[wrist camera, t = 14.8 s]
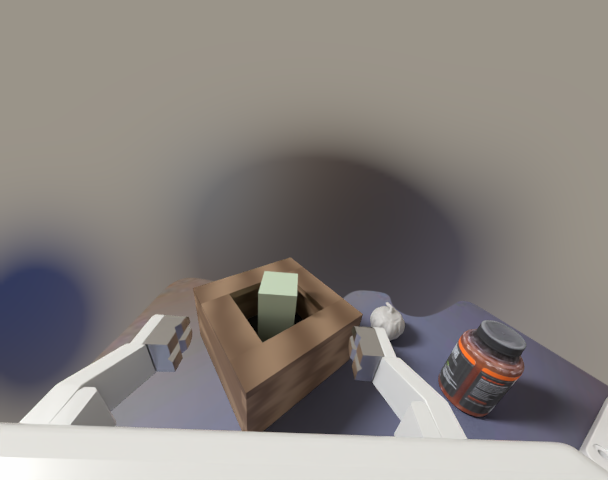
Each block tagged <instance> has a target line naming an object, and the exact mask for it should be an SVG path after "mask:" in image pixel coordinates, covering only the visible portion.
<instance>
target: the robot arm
mask: <svg viewBox="0 0 608 480" xmlns="http://www.w3.org/2000/svg"><path fill="white" fill-rule="evenodd" d="M189 323H190V320H189V317H183V316H171V315H157V314H156V315H154V316H152V317H151V318H150V320H149V321H148V322H147V323H146V325H145V326H144V327H143V328H142V329H141V331H140V332H139V333H138V334H137V336H136V337H135V338H134V339H133V340H132V342H131V343H130V344H125V345H123V346H121V347H120V348H118V349H116V350H115V351H113V352H111V353H109V354H108V355H106V356H104V357H103V358H101V359H99V360H97V361H96V362H94V363H92V364H91V365H89V366H87V367H85V368H84V369H82V370H80V371H79V372H77V373H75V374H73V375H72V376H70V377H68V378H67V379H65V380H63V381H62V382H60V383H58V384H56V385H55V387H53V389H52V390H51V391H50V392H49V393H48V394H47V395H46V396H45V397H44V398H43V399H42V400H41V401H40V402H39V403H38V404H37V405H36V406H35V407H34V408H33V409H32V410H31V411H30V412H29V413H28V414H27V415H26V416H25V417H24V418H23V419H22V420H21V421H20V422H19V423H0V480H608V397H607V398H606V400H605V402H604V404H603V406H602V408H601V409H600V411H599V413H598V415H597V417H596V419H595V421H594V423H593V425H592V427H591V429H590V431H589V433H588V435H587V436H586V438H585V440H584V442H583V444H582V446H581V448H580V450H579V451H578V450H577V449H575V448H574V447H571V446H569V445H567V444H564V443H557V442H536V441H507V440H479V439H467V438H466V436H465V434H464V432H463V430H462V428H461V426H460V425H459V423H458V421H457V419H456V417H455V415H454V413H453V411H452V410H451V408H450V406H449V404H448V402H447V401H446V400H445V399H444V398H443V397H442V396H441V395H439V394H438V393H437V392H436V391H435V390H434V389H433V388H432V387H431V386H430V385H429V384H428V383H426V382H425V381H424V380H423V379H422V378H421V377H420V376H419V375H418V374H417V373H416V372H415V371H413V370H412V369H411V368H410V367H409V366H408V365H407V364H406V363H405V362H404V361H403V360H402V359H400V358H397V357H396V355H395V352H394V350H393V348H392V345H391V343H390V341H389V338H388V336H387V334H386V331H385V329H384V328H379V327H360V326H353V328H352V331H351V332H352V336H351V337H350V339H349V355H350V358H351V359H352V360H353V364H352V369H353V374H354V379H355V380H359V381H372V383H373V384H374V385H375V387H376V388H377V389H378V391H379V392H380V393H381V395H382V396H383V397H384V399H385V400H386V401H387V403H388V404H389V405H390V407H391V408H392V410H393V411H394V412H395V414H396V415H397V416H398V418H399V419H400V420H401V422H400V424H399V426H398V428H397V429H396V431H395V433H394V435H395V437H393V436H365V435H337V434H309V433H282V432H254V431H226V430H197V429H169V428H140V427H115V425H116V420H115V418H114V417H113V415H112V413H111V411H112V410H113V409H114V408H115V407H116V406H118V405H119V404H120V403H121V402H122V401H123V400H125V399H126V398H127V397H128V396H129V395H130V394H131V393H133V392H134V391H135V390H136V389H137V388H138V387H140V386H141V385H142V384H143V383H144V382H145V381H147V380H148V379H149V378H150V377H151V376H152V375H153V374H155V373H156V372H155V371H162V372H175V371H176V369H177V367H178V365H179V364H180V362H181V360H182V353H183V352H184V351H185V350H187V349H188V347H189V345H190V342H191V339H192V329H191V328H190V327H189V326H188V325H189Z"/></svg>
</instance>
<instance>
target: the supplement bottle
mask: <svg viewBox="0 0 608 480" xmlns="http://www.w3.org/2000/svg"><path fill="white" fill-rule="evenodd" d="M525 348H526V343H525V341H524V339H523V338H522V337H521V336H520V335H519V334H518V333H517V332H515V331H514V330H513V329H511V328H509V327H508V326H506V325H504V324H501V323H499V322H496V321H490V320H486V321H483V322H482V323H481V324H480V326H479V327H478V329H471V330H467V331H466V332H464V333H463V335H462V336H461V338H460V339H459V341H458V342H457V344H456V346H455V348H454V349H453V351H452V353H451V354H450V356H449V358H448V360H447V361H446V363H445V365H444V366H443V368H442V370H441V372H440V374H439V378H438V381H439V385H440V388H441V390H442V392H443V393H444V395H445V396H446V397H447V399H448V400H449V401H450V402H451V403H452V404H453V405H454V406H456V407H457V408H458V409H460V410H461V411H463V412H465V413H467V414H469V415H472V416H477V417H482V416H485V415H487V414H488V413H489V412H490V411H491V410H492V409H493V408H494V407H495V405H496V404H497V403H498V402H499V401H500V400H501V398H502V397H503V396H504V395H505V394H506V392H507V391H508V390H509V389H510V388H511V387H512V385H513V384H514V383H515V382H516V380H517V379H518V378H519V377H520V376H521V374H522V373H523V371H524V362H523V360H522V358H521V356H520V355H521V354H522V352H523V351H524V349H525Z"/></svg>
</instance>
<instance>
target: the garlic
mask: <svg viewBox="0 0 608 480" xmlns="http://www.w3.org/2000/svg"><path fill="white" fill-rule="evenodd" d="M386 305H387V306H388V307H387V306H382V307H379V308H376V309H375V310H374V311H373V312H372V314H371V317H370V321H371V327H379V328H384V329H385V331H386V334H387V336H388V338H389V341H391V340H393V339H396V338H398V337H399V336H400V335H401V334H402V333H403V331H404V328H405V323H404V320H403V318H402V316H401V314H400V313H399V312H398V311H397V310H395V308H393V307H392V306H391V305H390V304H389V303H388V302H387V303H386Z"/></svg>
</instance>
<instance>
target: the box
mask: <svg viewBox="0 0 608 480" xmlns="http://www.w3.org/2000/svg"><path fill="white" fill-rule="evenodd" d="M264 271H270V272H282V273H295V274H298V285H297V301H296V310H295V312H296V313H297V314H298V315H299V316H300V317H301V318H302V319H303V320H302V321H301V322H299V323H297V324H295V325H293V326H292V327H290V328H288V329H286V330H284V331H283V332H281V333H279V334H277V335H275V336H274V337H272V338H270V339H268V340H266V341H265V342H263V343H262V341H261V340H260V338H259V337H258V335H257V334H256V332H255V331H254V329H253V328H252V327H251V325H250V324H249V322H248V321H247V319H249V318H251V317H253V316H255V315H258V292H259V289H260V285H261V282H262V278H263V275H264ZM193 290H194V297H195V303H196V309H197V315H198V321H199V327H200V334H201V337H202V339H203V341H204V344H205V346H206V348H207V351H208V353H209V355H210V358H211V360H212V362H213V365H214V367H215V369H216V372H217V374H218V376H219V379H220V381H221V383H222V386H223V388H224V390H225V392H226V395H227V397H228V399H229V402H230V404H231V406H232V409H233V411H234V413H235V416H236V418H237V420H238V423H239V425H240V427H241V430H242V431H254V432H263V431H264V430H265V429H266V428H268V427H269V426H270V425H271V424H272V423H274V422H275V421H276V420H277V419H278V418H280V417H281V416H282V415H283V414H285V413H286V412H287V411H288V410H289V409H291V408H292V407H293V406H294V405H295V404H297V403H298V402H299V401H300V400H301V399H303V398H304V397H305V396H306V395H307V394H309V393H310V392H311V391H312V390H313V389H315V388H316V387H317V386H318V385H319V384H321V383H322V382H323V381H324V380H325V379H327V378H328V377H329V376H330V375H331V374H333V373H334V372H335V371H336V370H337V369H339V368H340V367H341V366H342V365H343V364H345V363H346V362H347V361H348V360H349V359H350V355H349V339H350V337H351V336H352V332H351V331H352V328H353V326H359V325H360V322H361V319H362V315H363V314H362V313H361V312H359V311H358V310H357V309H355V308H354V307H353V306H352V305H350V304H349V303H348V302H346V301H345V300H344V299H343V298H341V297H340V296H339V295H338V294H336V293H335V292H334V291H332V290H331V289H330V288H329V287H327V286H326V285H325V284H324V283H322V282H321V281H320V280H318V279H317V278H316V277H315V276H313V275H312V274H311V273H309V272H308V271H307V270H306V269H304V268H303V267H302V266H300V265H299V264H298V263H297V262H295V261H294V260H293V259H291V258H287V259H284V260H281V261H278V262H274V263H271V264H268V265H265V266H262V267H259V268H256V269H252V270H250V271H246V272H243V273H240V274H237V275H233V276H230V277H227V278H224V279H221V280H218V281H214V282H211V283H208V284H205V285H202V286H198V287H195V288H193Z"/></svg>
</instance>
